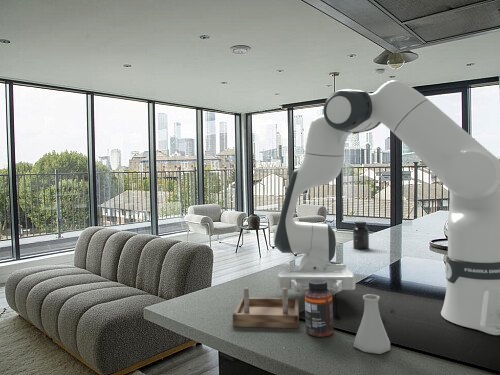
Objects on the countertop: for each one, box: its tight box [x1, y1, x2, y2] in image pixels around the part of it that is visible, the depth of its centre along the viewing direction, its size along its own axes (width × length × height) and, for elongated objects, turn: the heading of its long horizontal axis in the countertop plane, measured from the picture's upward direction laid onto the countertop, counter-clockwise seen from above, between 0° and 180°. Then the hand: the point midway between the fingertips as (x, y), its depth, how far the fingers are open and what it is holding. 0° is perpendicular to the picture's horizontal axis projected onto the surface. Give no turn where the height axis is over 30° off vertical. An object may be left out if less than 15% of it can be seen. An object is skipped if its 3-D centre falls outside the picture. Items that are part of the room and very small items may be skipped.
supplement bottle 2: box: [352, 221, 370, 251], centre depth 173 cm, size 7×7×12 cm
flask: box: [352, 293, 391, 355], centre depth 76 cm, size 7×7×10 cm
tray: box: [232, 287, 300, 329], centre depth 93 cm, size 15×12×8 cm
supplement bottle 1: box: [304, 279, 334, 338], centre depth 83 cm, size 6×6×11 cm
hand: (316, 288), depth 95 cm, fingers open, 8 cm apart
